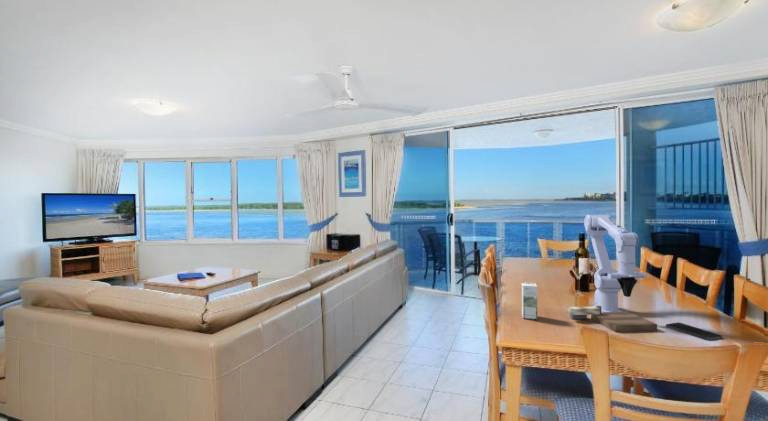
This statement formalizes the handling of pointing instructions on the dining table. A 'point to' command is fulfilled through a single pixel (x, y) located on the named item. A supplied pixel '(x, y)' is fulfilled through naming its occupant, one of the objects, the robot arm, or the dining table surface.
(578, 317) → the stop block
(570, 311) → the folding leg
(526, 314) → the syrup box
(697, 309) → the dining table surface
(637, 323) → the stool seat
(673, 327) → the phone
